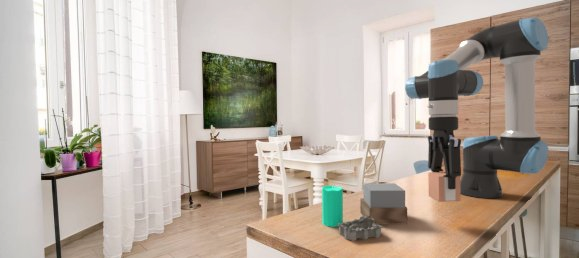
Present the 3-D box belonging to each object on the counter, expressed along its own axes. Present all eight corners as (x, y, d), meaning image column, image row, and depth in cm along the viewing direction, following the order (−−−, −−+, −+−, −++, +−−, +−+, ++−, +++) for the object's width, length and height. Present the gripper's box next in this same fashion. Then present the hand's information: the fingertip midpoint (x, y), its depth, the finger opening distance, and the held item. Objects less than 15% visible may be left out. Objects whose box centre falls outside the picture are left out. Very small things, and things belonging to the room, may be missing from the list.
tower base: (394, 213, 100) (394, 198, 100) (407, 224, 89) (407, 207, 89) (360, 213, 100) (360, 198, 100) (369, 225, 89) (369, 208, 89)
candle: (318, 221, 92) (318, 181, 91) (335, 218, 94) (335, 179, 94) (328, 228, 86) (328, 185, 86) (346, 224, 89) (346, 183, 88)
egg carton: (371, 228, 86) (371, 214, 86) (385, 238, 79) (385, 223, 79) (335, 232, 84) (335, 217, 84) (346, 242, 76) (346, 226, 76)
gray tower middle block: (394, 198, 99) (394, 183, 99) (405, 207, 89) (405, 190, 89) (363, 198, 100) (363, 183, 99) (370, 207, 90) (370, 190, 89)
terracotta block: (448, 195, 91) (448, 171, 90) (460, 201, 85) (460, 175, 84) (428, 196, 91) (428, 172, 90) (438, 201, 85) (438, 176, 84)
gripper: (415, 116, 96) (416, 189, 97) (447, 116, 77) (448, 207, 78) (439, 115, 96) (439, 188, 97) (477, 115, 77) (477, 206, 78)
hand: (443, 197), depth 88 cm, fingers closed on terracotta block, 6 cm apart
